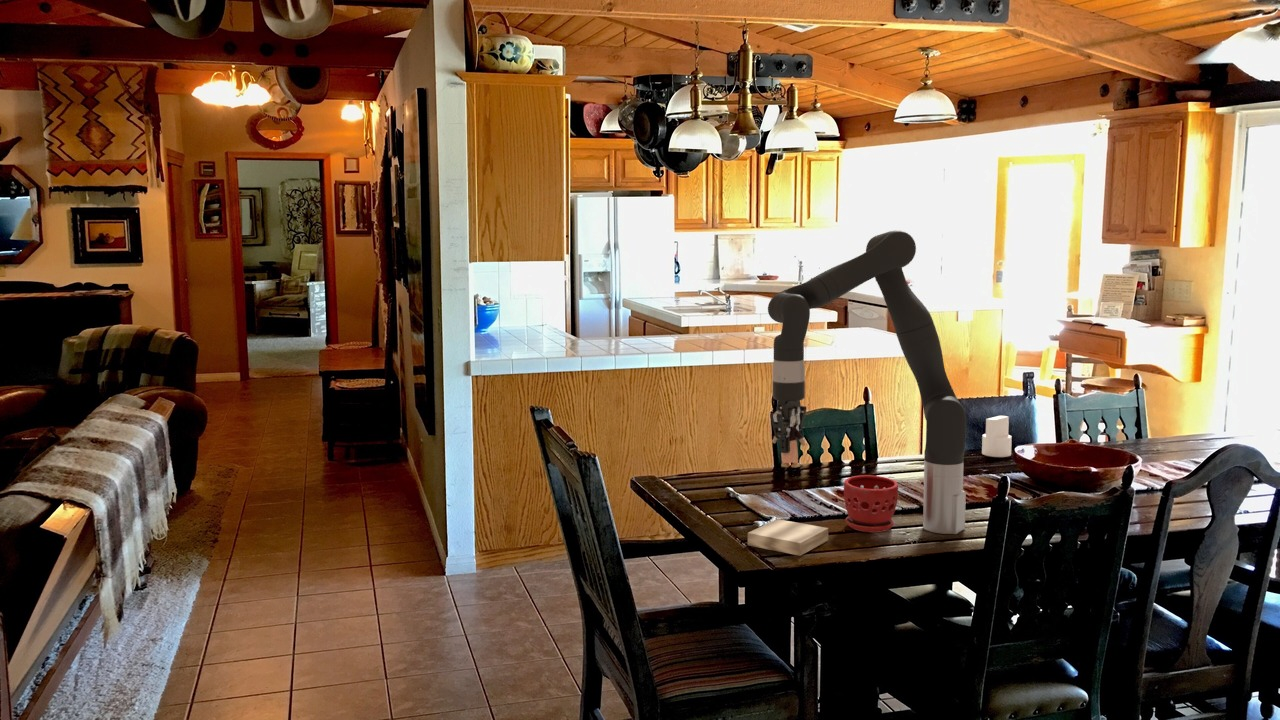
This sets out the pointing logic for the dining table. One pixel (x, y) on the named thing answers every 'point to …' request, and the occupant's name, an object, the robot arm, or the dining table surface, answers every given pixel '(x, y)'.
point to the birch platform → (788, 537)
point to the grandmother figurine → (791, 447)
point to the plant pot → (870, 502)
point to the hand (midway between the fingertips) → (788, 450)
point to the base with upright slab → (997, 437)
